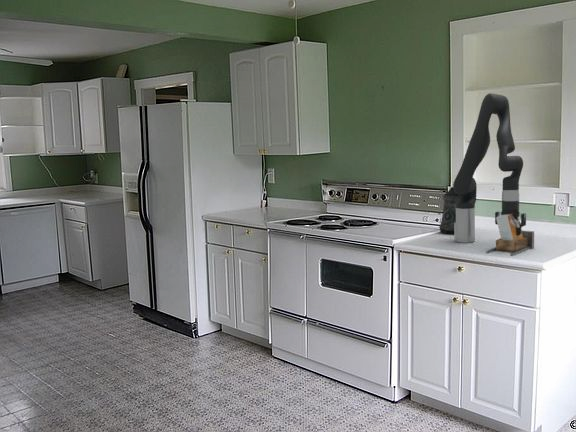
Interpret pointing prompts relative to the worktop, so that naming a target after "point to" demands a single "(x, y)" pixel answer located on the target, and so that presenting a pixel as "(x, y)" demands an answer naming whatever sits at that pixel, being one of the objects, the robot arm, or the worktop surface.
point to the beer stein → (449, 212)
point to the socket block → (511, 245)
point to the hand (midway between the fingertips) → (510, 234)
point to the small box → (508, 228)
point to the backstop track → (530, 246)
